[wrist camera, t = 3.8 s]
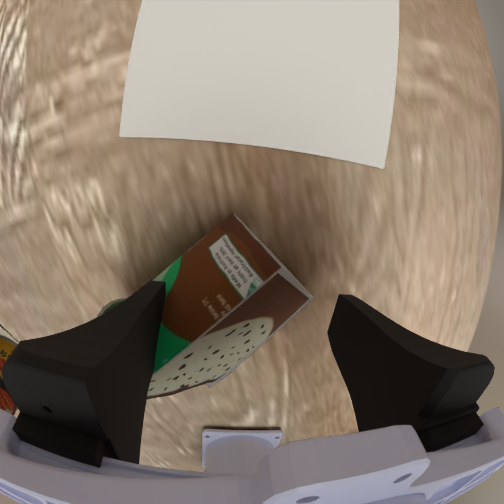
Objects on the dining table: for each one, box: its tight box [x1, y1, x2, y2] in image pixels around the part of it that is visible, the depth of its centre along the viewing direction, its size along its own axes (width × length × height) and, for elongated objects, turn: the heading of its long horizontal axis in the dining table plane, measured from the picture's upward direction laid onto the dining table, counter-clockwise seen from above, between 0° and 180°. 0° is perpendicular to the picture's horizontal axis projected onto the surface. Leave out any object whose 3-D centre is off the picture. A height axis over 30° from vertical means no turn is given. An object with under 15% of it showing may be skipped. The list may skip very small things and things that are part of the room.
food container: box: [97, 213, 314, 399], centre depth 16 cm, size 12×6×10 cm
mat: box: [120, 0, 399, 169], centre depth 13 cm, size 14×16×1 cm
